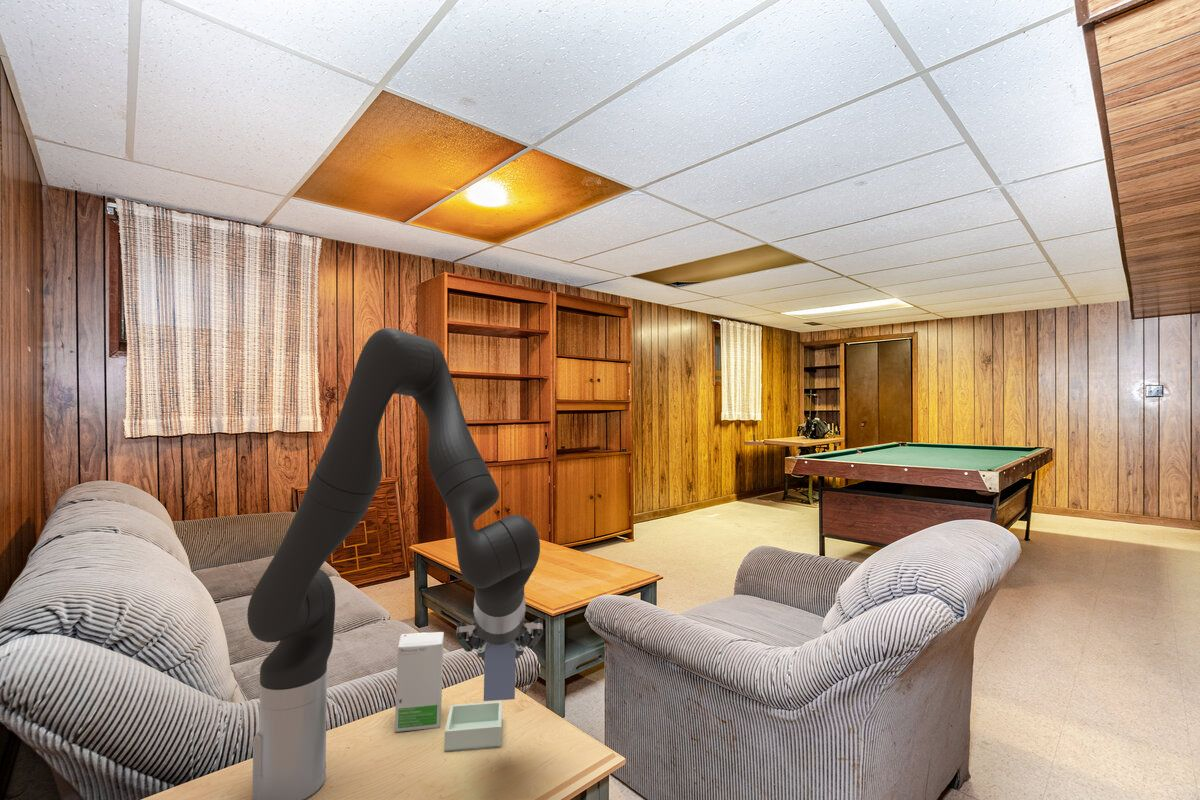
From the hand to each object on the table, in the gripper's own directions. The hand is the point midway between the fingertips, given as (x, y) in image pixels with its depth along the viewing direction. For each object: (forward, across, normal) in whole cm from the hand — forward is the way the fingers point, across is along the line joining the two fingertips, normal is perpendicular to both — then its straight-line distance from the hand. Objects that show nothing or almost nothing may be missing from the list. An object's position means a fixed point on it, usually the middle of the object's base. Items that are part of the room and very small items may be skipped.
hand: (500, 653), depth 94 cm
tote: (+17, +4, +8) cm, 19 cm away
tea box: (+3, 0, +5) cm, 6 cm away
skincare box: (+22, +15, +3) cm, 27 cm away
